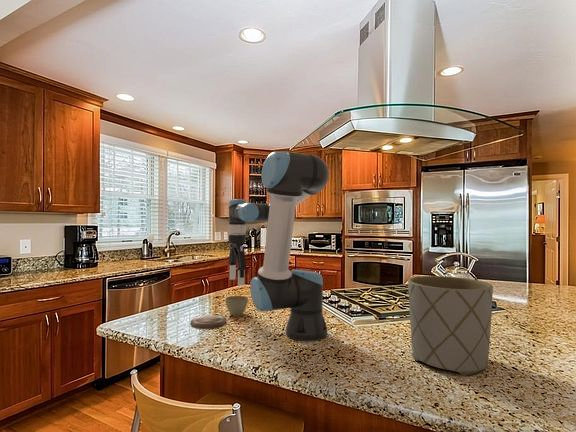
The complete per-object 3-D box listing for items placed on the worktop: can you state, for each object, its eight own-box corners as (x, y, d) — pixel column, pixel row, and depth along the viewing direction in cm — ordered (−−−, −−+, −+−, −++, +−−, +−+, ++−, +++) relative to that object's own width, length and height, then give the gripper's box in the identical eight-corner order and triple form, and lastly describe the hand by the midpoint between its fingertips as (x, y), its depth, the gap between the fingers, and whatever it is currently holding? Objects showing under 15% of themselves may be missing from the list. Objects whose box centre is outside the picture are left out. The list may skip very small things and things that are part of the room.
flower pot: (246, 317, 147) (246, 300, 147) (223, 317, 147) (223, 300, 148) (249, 311, 157) (249, 295, 157) (227, 311, 157) (227, 295, 158)
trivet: (229, 325, 136) (230, 322, 136) (193, 330, 130) (193, 326, 130) (221, 316, 149) (221, 313, 149) (188, 320, 143) (188, 316, 143)
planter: (394, 360, 103) (394, 281, 103) (427, 341, 119) (427, 273, 119) (477, 387, 87) (477, 293, 87) (502, 361, 103) (502, 282, 103)
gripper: (254, 235, 143) (253, 287, 143) (237, 232, 166) (237, 276, 166) (236, 236, 140) (236, 288, 140) (222, 232, 163) (221, 277, 163)
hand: (236, 282), depth 153 cm, fingers open, 13 cm apart
